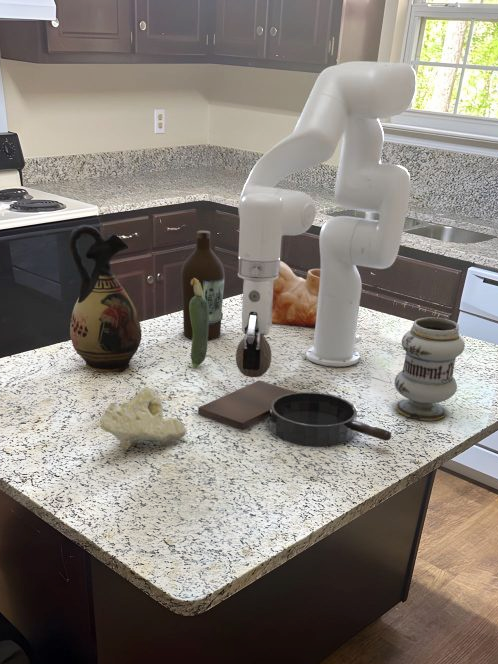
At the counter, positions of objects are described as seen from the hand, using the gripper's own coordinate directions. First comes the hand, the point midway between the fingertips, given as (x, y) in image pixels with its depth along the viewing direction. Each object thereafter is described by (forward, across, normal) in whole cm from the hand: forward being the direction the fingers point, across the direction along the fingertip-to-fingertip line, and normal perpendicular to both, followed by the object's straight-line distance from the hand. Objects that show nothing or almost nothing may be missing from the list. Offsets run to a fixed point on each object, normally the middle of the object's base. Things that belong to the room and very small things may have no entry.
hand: (253, 361), depth 140 cm
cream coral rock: (+10, -22, +17) cm, 30 cm away
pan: (+10, -7, -13) cm, 17 cm away
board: (+10, 0, 0) cm, 10 cm away
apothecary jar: (+10, +6, -34) cm, 36 cm away
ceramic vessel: (+9, +64, -6) cm, 64 cm away
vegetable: (+10, +20, +14) cm, 27 cm away
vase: (+3, 0, 0) cm, 3 cm away
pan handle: (+7, -13, -23) cm, 27 cm away
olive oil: (+10, +44, +18) cm, 48 cm away
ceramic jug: (+10, +16, +35) cm, 40 cm away
